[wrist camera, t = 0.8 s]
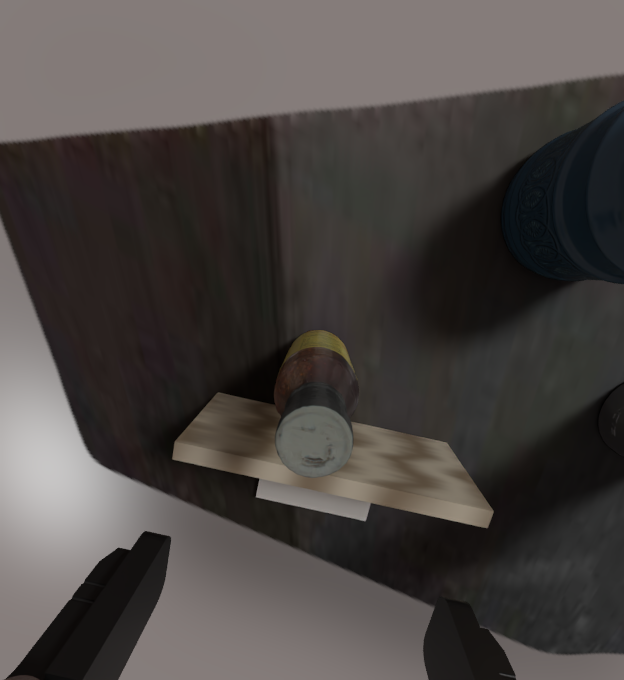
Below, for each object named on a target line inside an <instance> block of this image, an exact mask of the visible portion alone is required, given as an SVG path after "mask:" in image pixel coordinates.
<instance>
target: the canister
mask: <svg viewBox="0 0 624 680" xmlns="http://www.w3.org/2000/svg"><path fill="white" fill-rule="evenodd" d="M501 226H502V232H503V237H504V240H505V242H506V245H507V247H508V249H509V250H510V252H511V253H512V255H513V256H514V257H515V259H516V260H517V261H518V262H519V263H520V264H522V265H523V266H524V267H526V268H527V269H529V270H531V271H533V272H535V273H537V274H539V275H542V276H544V277H547V278H550V279H555V280H563V281H583V280H604V281H607V282H612V283H618V284H624V101H622V102H619V103H618V104H616V105H614V106H612V107H611V108H609V109H608V110H606V111H605V112H603V113H602V114H601V115H600V116H598V117H597V118H596V119H594V120H592V121H591V122H589V123H587V124H585V125H583V126H582V127H580V128H578V129H576V130H572V131H570V132H567V133H565V134H563V135H561V136H559V137H557V138H555V139H554V140H552V141H550V142H549V143H547V144H546V145H544V146H543V147H541V148H540V149H539V150H538V151H537V152H535V153H534V154H533V155H532V156H531V157H530V158H529V159H528V160H527V162H526V163H525V164H524V165H523V166H522V167H521V168H520V169H519V170H518V172H517V173H516V174H515V176H514V178H513V179H512V181H511V183H510V185H509V187H508V189H507V191H506V194H505V197H504V200H503V205H502V211H501Z"/></svg>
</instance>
